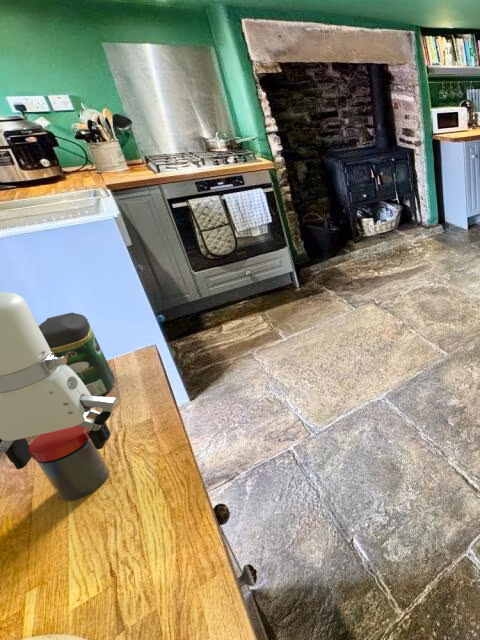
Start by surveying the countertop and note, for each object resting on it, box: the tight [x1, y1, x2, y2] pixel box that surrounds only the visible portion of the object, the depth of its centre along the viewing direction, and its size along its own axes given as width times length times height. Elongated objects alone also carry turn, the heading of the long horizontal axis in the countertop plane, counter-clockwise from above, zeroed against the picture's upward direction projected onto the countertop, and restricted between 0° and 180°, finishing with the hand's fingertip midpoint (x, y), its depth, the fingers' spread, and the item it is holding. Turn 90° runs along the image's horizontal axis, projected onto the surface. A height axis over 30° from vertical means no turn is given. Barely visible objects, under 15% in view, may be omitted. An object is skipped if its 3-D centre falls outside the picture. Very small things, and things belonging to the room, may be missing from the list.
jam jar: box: [36, 437, 111, 502], centre depth 69 cm, size 6×6×11 cm
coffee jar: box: [38, 312, 115, 397], centre depth 88 cm, size 10×8×19 cm
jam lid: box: [29, 426, 90, 462], centre depth 67 cm, size 7×7×2 cm
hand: (65, 452), depth 68 cm, fingers open, 9 cm apart
